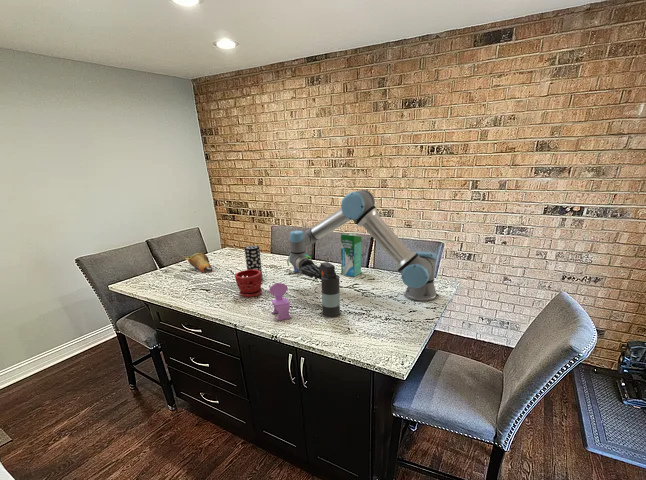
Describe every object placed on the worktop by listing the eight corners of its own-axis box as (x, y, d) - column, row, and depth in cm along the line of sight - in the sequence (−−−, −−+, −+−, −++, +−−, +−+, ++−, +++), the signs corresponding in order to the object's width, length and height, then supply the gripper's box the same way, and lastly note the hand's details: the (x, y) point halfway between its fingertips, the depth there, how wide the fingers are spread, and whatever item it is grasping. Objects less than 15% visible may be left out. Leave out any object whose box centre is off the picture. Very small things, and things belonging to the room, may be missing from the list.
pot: (195, 261, 206) (184, 247, 216) (190, 277, 210) (179, 263, 220) (221, 264, 219) (209, 251, 229) (216, 279, 223) (204, 265, 233)
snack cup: (313, 268, 220) (312, 253, 216) (311, 273, 210) (310, 257, 206) (289, 268, 221) (288, 253, 217) (286, 273, 211) (285, 257, 207)
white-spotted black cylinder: (245, 282, 197) (241, 248, 189) (253, 277, 204) (250, 245, 196) (257, 283, 194) (253, 249, 186) (265, 279, 201) (262, 246, 194)
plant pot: (254, 288, 188) (252, 267, 183) (267, 294, 179) (265, 272, 174) (233, 294, 179) (230, 273, 175) (246, 301, 171) (243, 278, 166)
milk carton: (361, 272, 210) (361, 232, 200) (354, 276, 203) (354, 235, 193) (348, 270, 214) (348, 231, 204) (341, 274, 207) (340, 233, 197)
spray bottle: (317, 310, 159) (315, 263, 150) (332, 306, 162) (331, 260, 153) (327, 319, 150) (325, 269, 141) (343, 315, 154) (342, 266, 145)
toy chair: (275, 321, 149) (272, 289, 143) (270, 313, 156) (267, 283, 150) (293, 318, 152) (291, 286, 146) (287, 310, 159) (285, 280, 153)
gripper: (316, 270, 177) (337, 283, 158) (293, 274, 172) (311, 288, 153) (316, 256, 175) (337, 268, 155) (292, 260, 169) (311, 273, 150)
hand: (324, 278), depth 154 cm, fingers closed
